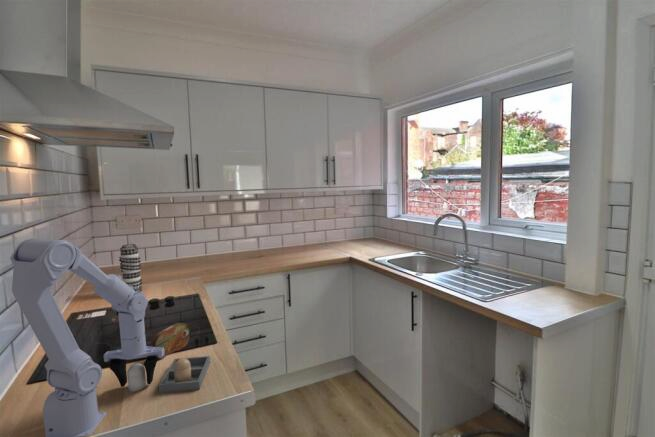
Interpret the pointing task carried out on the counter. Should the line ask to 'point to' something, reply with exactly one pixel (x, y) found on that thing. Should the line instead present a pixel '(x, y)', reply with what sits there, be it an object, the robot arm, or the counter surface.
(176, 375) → the brown egg
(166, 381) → the grey shallow tray
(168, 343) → the tin
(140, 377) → the egg
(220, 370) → the counter surface
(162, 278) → the counter surface
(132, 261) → the decorative candle
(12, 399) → the counter surface
